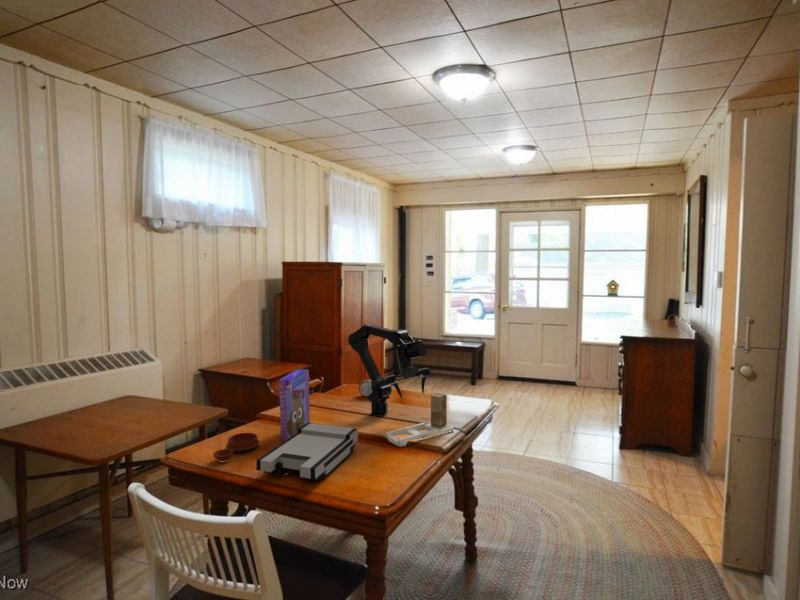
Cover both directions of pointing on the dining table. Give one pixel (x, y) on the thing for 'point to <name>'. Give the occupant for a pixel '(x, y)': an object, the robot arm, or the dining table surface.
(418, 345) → the robot arm
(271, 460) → the game console
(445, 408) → the walnut block
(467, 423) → the dining table surface
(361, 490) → the dining table surface
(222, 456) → the pottery
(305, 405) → the cereal box
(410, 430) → the box
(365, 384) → the tin
